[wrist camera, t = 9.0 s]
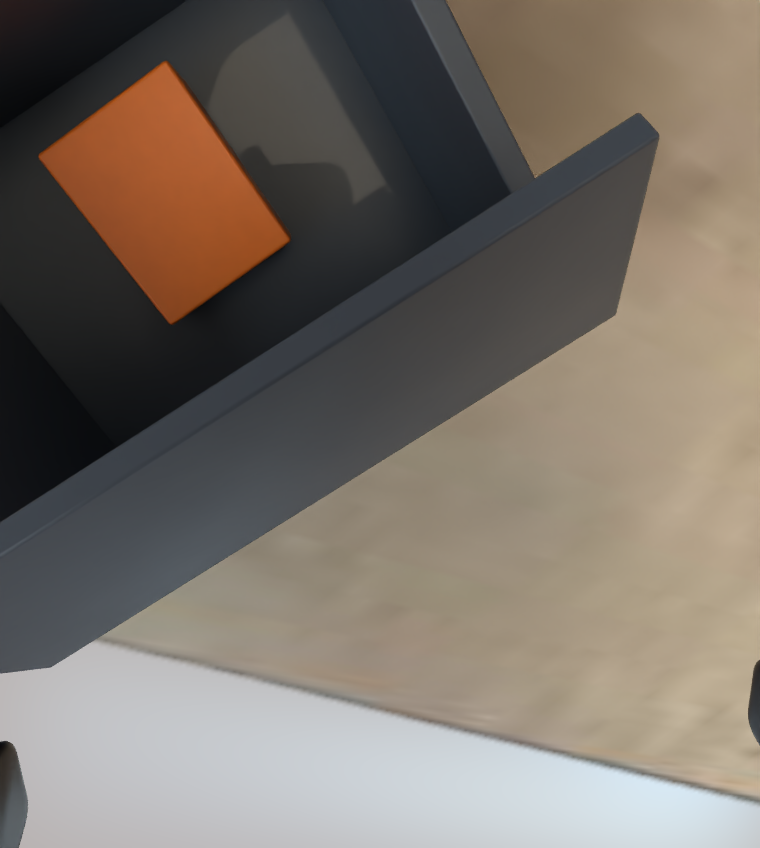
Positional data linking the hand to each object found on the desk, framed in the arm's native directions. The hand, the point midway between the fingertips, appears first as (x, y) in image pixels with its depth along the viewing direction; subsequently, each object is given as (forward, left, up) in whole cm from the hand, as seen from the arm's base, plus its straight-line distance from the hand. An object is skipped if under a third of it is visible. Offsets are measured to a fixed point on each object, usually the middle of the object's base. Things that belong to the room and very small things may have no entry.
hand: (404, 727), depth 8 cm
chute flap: (+3, +1, -3) cm, 4 cm away
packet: (+7, +2, -10) cm, 12 cm away
